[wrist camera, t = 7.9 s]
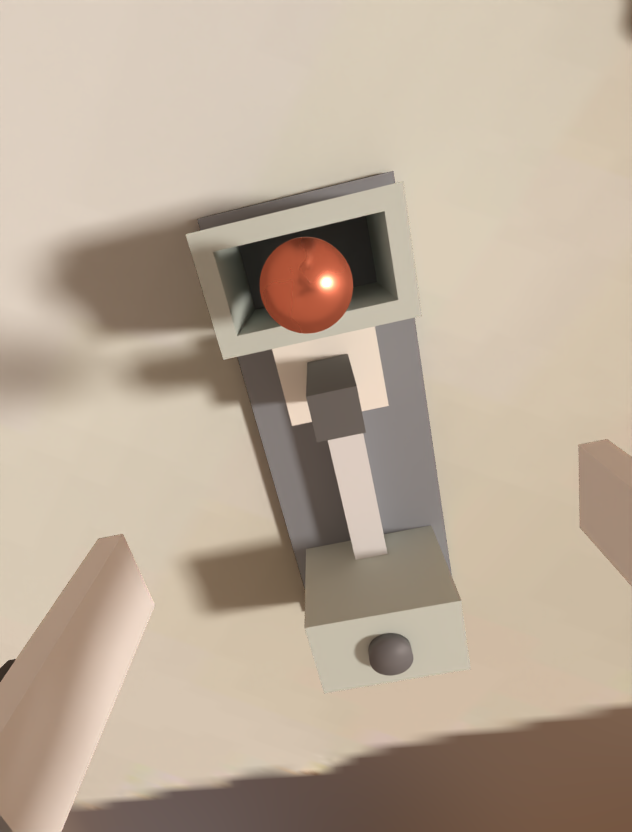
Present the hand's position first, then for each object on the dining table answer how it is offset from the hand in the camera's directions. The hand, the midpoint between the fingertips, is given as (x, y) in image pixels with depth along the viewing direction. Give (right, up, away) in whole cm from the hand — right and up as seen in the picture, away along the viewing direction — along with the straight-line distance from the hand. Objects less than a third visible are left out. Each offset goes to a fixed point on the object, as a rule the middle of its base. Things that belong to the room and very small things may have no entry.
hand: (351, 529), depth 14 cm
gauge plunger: (-1, +11, +13) cm, 17 cm away
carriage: (0, +7, +18) cm, 19 cm away
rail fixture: (+1, +2, +21) cm, 21 cm away
